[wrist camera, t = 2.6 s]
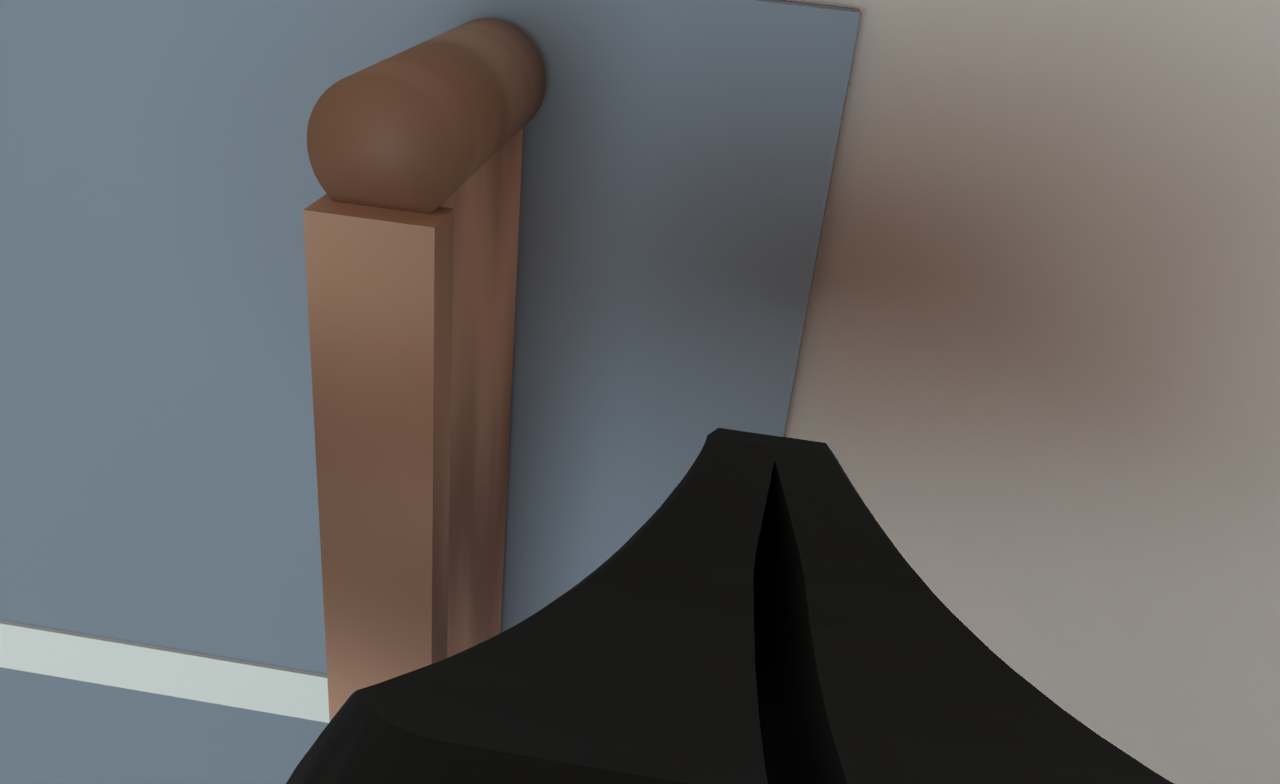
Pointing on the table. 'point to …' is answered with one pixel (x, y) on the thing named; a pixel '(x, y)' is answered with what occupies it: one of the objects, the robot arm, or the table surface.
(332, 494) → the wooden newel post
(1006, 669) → the robot arm
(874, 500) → the table surface
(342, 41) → the board
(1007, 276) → the table surface
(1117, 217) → the table surface
